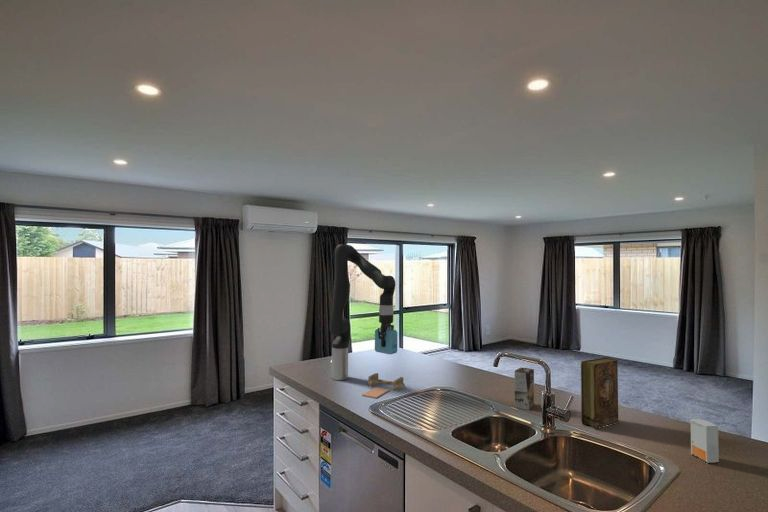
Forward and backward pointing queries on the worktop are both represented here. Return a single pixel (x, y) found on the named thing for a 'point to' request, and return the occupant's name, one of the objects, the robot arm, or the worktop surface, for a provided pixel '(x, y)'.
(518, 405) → the coffee box
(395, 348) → the blue flat block
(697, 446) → the skincare box
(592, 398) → the book
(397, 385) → the oak rack
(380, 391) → the terracotta pad
